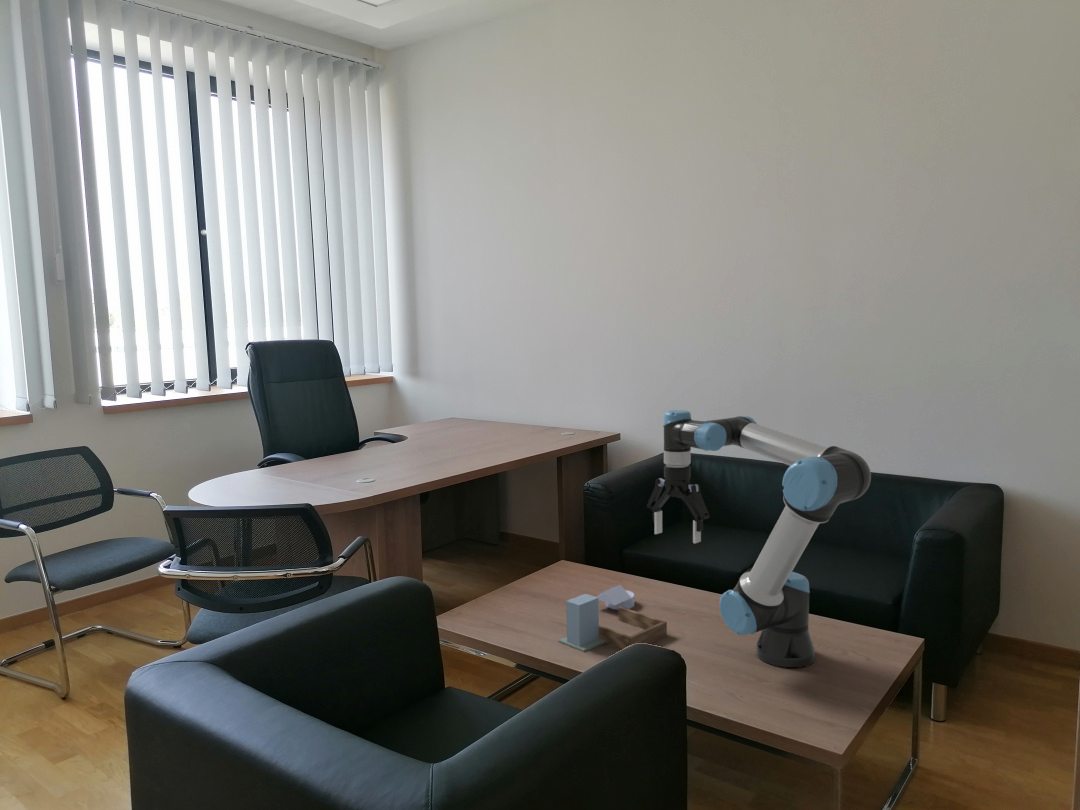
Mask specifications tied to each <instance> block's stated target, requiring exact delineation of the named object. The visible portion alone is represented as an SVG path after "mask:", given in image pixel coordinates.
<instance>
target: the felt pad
mask: <svg viewBox="0 0 1080 810" xmlns="http://www.w3.org/2000/svg"><path fill="white" fill-rule="evenodd" d="M557 641H558V642H559V643H560V644H563V645H565V646H568V647H570V648H573V649H575V650H578V651H581V652H582V653H584V652H586V651H590V650H592V649H593V648H595V647H598V646H600V645H603V644H605V643H606V642H605V640H603V639H600V638H598V639H596V640H593V641H591V642H589V643H587V644H584V645H582V646H580V647H579V646H577V645H574V644H572V643H570V642H567V635H566V636H565V637H562V638H559V639H558V640H557Z"/></svg>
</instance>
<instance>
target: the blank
mask: <svg viewBox="0 0 1080 810" xmlns="http://www.w3.org/2000/svg"><path fill="white" fill-rule="evenodd" d="M565 602H566V603H565V606H566V607H565V609H566V611H565V612H566V615H565V616H566V636H567V642H570V643H572V644H574V645H577V646H579V647H580V646H582V645H584V644H587V643H589V642H591V641H593V640H596V639H598V638H599V625H600V624H599V622H600V621H599V616H600V615H599V612H600V611H599V610H600V609H599V608H600V607H599V600H598V598H597V597H596V596H595V595H591V594H588V593H584V594H581V595H578V596H575V597H572V598H570V599H567V600H566V601H565Z"/></svg>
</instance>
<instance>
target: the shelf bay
mask: <svg viewBox="0 0 1080 810" xmlns="http://www.w3.org/2000/svg"><path fill="white" fill-rule="evenodd" d="M618 621H620V622H622V623H623V622H624V623H626V624H629V625H632V626H635V627H637V628H640V629H642V630H641V631H638V632H636V633H635V634H632V635H628V634H625V633H623V632H620V631H618V630H614V629H612V628H610V627H606V626H605V625H602V624H599V638H600V639H603V640H605V643H606V644H609V645H611V646H614V647H617V648H619V649H622V650H624V649H623V648H625V647H627V646H629V645H632V644H635V643H649V644H651V643H653V642H655V641H657V640H660V639H662V638H664V637H665V636H667V635H668V634H667V633H668V631H667V630H668V627H667V625H668V623H667V621H665V620H662V619H660V618H659V619H658V618H656V617H653V616H650V615H647V614H644V613H641V612H638V611H635V610H633V609H631V608H630V609H627V608H624V607H619V610H618Z"/></svg>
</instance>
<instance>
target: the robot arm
mask: <svg viewBox="0 0 1080 810" xmlns="http://www.w3.org/2000/svg"><path fill="white" fill-rule="evenodd" d="M663 416H664V417H663V426H662V427H663V464H664V466H663V477H660V478H656V479H655V484H654V488H653V490H652V492H651V495H650V497H649V498H648V501H647V504H646V507H647V508H648V509H650V510H651V511H652V522H653V523H654V529H653V530H654V533H653V534H654V535H658V534H662V533H663V510H662V507H663V506H664V505H665V504H666V502H667V501H668V500H669V498H670V497H671V498H677V499H681V500H682V501H683V502H684V503H685V505H686V507H687V508H688V510H689V511H690V513H691V514H692V516H693V518H694V519H693V520H692V543H693V544H698V543H700V542H702V532H703V530H704V520H707V519H710V514H709V513H710V512H709V511H708V508H707V506H706V503H705V501H704V498H703V495H702V492H701V486H700V484H699V483H695V484H691V482H690V480H691V477H692V476H691V471H692V470H691V469H692V467H691V466H690V464H691V463H692V461H691V456H692V454H691V452H692V451H691V450H692V449H691V448H694V449H697V450H698V449H699V450H702V451H707V452H710V451H711V452H716V451H719V450H720V449H722V448H723V447H727V446H737V447H740V448H742V449H745V450H748V451H750V452H753V453H756V454H759V455H760V456H764V457H766V458H769V459H771V460H774V461H777V462H778V463H782V464H784V465H787V466H789V467H788V468H787V469H786V471H785V473H784V474H783V477H782V484H781V485H782V487H783V489H782V492H783V493H782V494H783V497H782V499H783V503H784V505H785V506H784V508H783V510H782V512H781V514H780V516H779V518H778V519H777V521H776V523H775V525H774V527H773V529H772V530H771V532H770V534H769V536H768V538H767V540H766V542H765V544H764V546H763V548H762V549H761V552H760V553H759V555H758V557H757V559H756V561H755V562H754V563H753V564H754V565H753V567H752V568H751V569H750V571H745V572H744V573H742V575H740V577H739V579H738V581H737V584H736V585H735V587H734V588H733V589H728V590H727V591H725V592H723V593H722V594H721V596H720V598H719V604H718V605H719V611H720V614H721V618H722V620H723V622H724V623H725V625H726V626H727V628H728V629H730V630H731V632H733V633H734V634H736V635H739V636H747V635H748V636H749V635H755V633H758V632H760V634H759V637H758V640H757V643H756V646H755V647H756V650H755V654H756V656H757V658H758V659H759V660H761V661H763V662H764V663H766V664H769V665H771V664H772V666H775V667H779V666H780V667H779V668H786V667H799V668H802V667H801V666H805V667H807V666H806V665H808V664H810V665H812V664H813V663H814V662H815V657H816V651H815V647H814V645H813V641H812V638H811V635H810V632H809V620H810V619H809V618H810V613H809V612H810V593H811V591H810V581H809V579H808V578H807V577H806V576H805V575H803V574H800V573H798V572H795V571H794V569H795V567H796V565H797V563H798V561H799V560H800V559H801V556H802V555H803V553H804V551H805V549H806V548H807V546H808V545H809V542H810V541H811V540H812V537H813V535H814V533H815V532H816V530H817V529H818V527H819V525H820V524H825V523H827V522H829V521H830V519H831V517H832V516H833V515H834V512H835V511H836V509H837V507H838V506H839V505H840V504H843V503H846V502H847V503H848V502H851V501H854V500H857V499H859V498H860V497H862V496H864V494H865V493H866V492H867V490H869V487H870V485H871V482H872V472H871V469H870V466H869V465H868V463H867V461H866V460H865V459H864V458H863V457H862V456H861V455H859V454H857V453H856V452H854V451H851V450H847V449H845V448H842V447H840V446H839V447H838V446H836V445H829V446H827V447H826V446H823V445H819V444H816V443H814V442H812V441H811V442H810V441H808V440H805V439H802V438H799V437H797V436H796V437H795V436H793V435H790V434H787V433H785V432H781V431H778V430H775V429H773V428H769V427H767V426H763V425H760V424H757V422H756V421H755V419H754V418H752V417H750V416H742V415H740V416H738V415H737V416H733V417H728V418H721V419H714V420H713V419H711V420H710V419H709V420H705V421H704V420H694V419H692V417H691V416H692V415H691V412H690V411H688V410H684V409H679V410H678V409H672V410H667V411H665V412H664V415H663ZM664 487H665V490H664V491H663V489H664ZM661 494H662V495H661ZM660 495H661V496H660ZM813 661H814V662H813ZM812 662H813V663H812ZM811 663H812V664H811ZM782 666H783V667H782ZM808 666H809V665H808Z"/></svg>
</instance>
